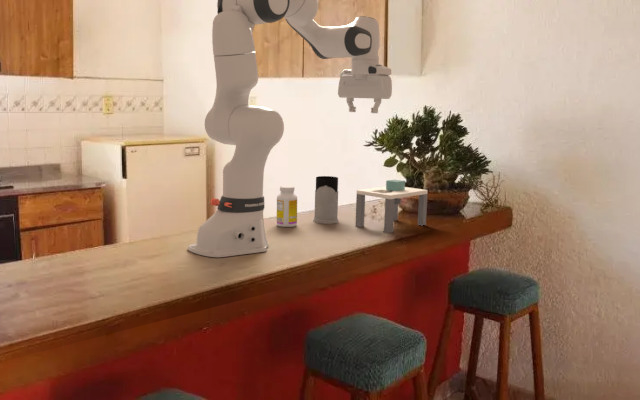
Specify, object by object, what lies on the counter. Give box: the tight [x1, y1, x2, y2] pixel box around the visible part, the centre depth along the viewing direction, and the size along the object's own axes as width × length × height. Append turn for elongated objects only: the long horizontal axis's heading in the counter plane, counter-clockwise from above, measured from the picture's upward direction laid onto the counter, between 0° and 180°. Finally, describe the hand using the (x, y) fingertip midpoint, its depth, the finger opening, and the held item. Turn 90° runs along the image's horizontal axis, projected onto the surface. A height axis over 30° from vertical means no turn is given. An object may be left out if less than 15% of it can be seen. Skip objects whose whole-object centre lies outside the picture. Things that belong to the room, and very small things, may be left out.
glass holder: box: [312, 175, 339, 225], centre depth 227 cm, size 9×14×15 cm, turn 173°
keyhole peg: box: [385, 179, 406, 205], centre depth 220 cm, size 4×4×8 cm
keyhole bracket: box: [354, 186, 428, 234], centre depth 220 cm, size 20×14×12 cm
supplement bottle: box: [276, 185, 298, 228], centre depth 215 cm, size 7×7×13 cm
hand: (363, 112), depth 215 cm, fingers open, 8 cm apart
